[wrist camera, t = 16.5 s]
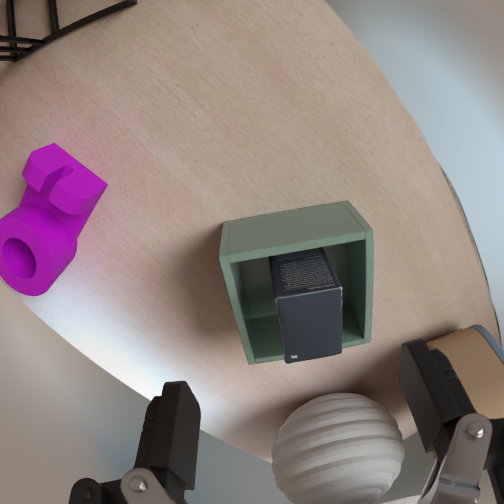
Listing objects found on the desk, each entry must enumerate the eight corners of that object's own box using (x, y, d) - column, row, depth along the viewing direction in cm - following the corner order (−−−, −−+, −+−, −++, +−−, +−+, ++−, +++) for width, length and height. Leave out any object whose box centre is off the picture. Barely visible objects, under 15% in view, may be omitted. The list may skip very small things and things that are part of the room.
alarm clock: (452, 383, 51) (494, 468, 32) (411, 399, 52) (446, 492, 33) (471, 305, 42) (542, 405, 22) (421, 324, 43) (485, 441, 23)
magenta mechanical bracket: (61, 282, 38) (40, 310, 32) (8, 240, 35) (-17, 262, 29) (113, 188, 32) (89, 208, 27) (50, 139, 29) (18, 151, 24)
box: (321, 292, 38) (342, 355, 29) (274, 299, 38) (283, 365, 29) (317, 232, 34) (344, 287, 25) (265, 240, 35) (273, 299, 25)
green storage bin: (348, 200, 34) (373, 229, 27) (352, 301, 40) (370, 342, 33) (223, 221, 35) (218, 256, 28) (247, 320, 41) (248, 365, 34)
